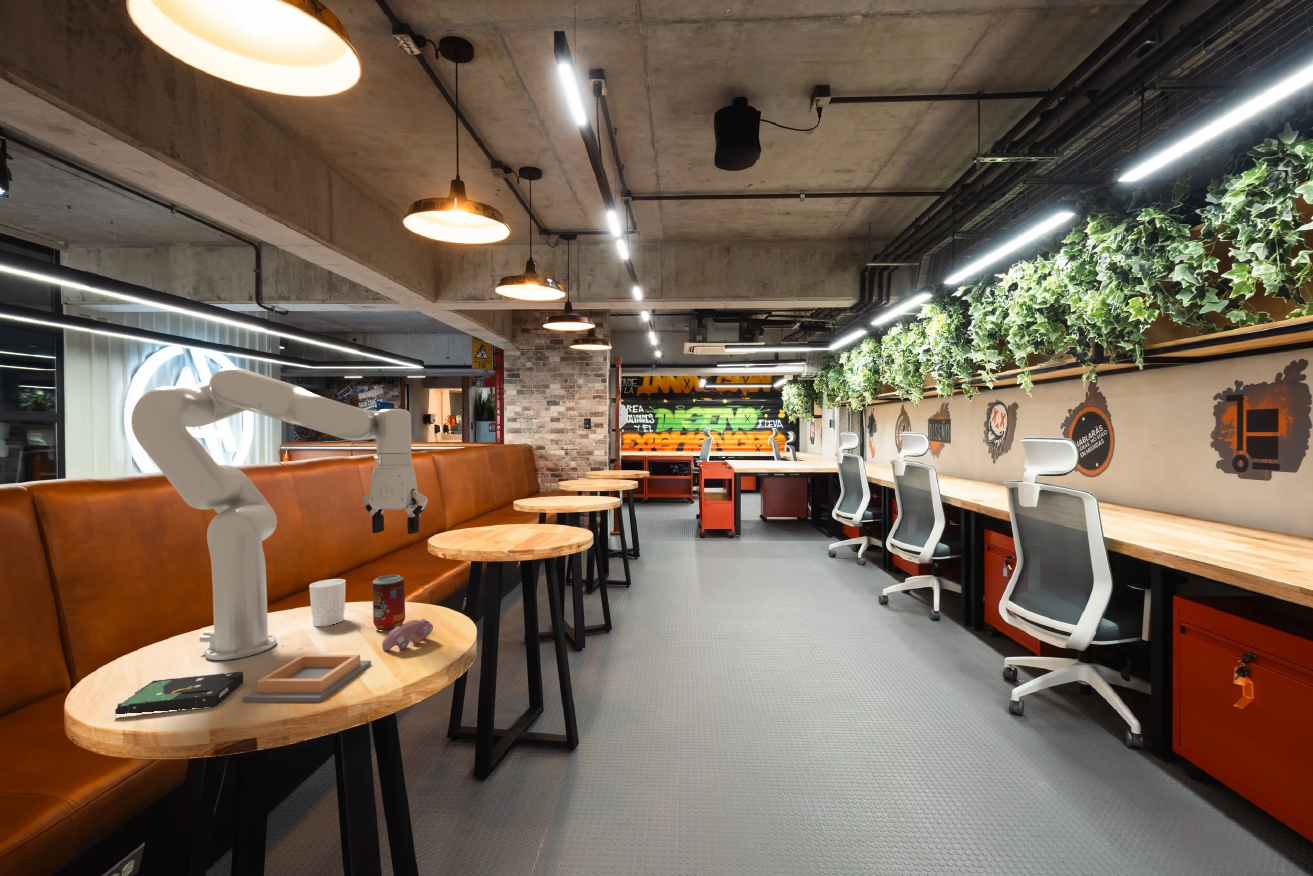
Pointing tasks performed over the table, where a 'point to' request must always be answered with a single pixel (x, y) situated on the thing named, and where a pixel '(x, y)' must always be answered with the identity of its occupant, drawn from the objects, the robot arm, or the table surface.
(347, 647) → the table surface
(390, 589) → the soda can
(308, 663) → the cradle jig
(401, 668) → the table surface
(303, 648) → the table surface
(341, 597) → the white cup
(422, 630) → the video game controller
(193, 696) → the disk drive
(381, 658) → the table surface
